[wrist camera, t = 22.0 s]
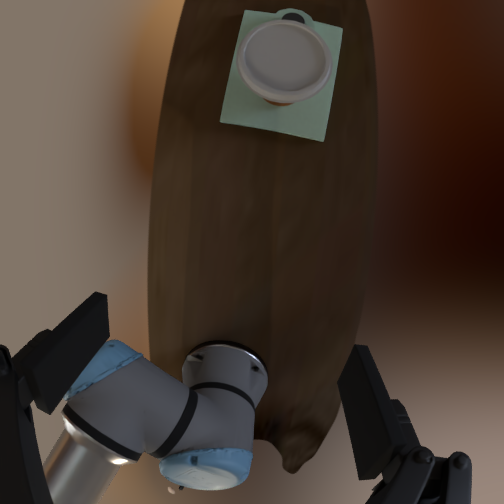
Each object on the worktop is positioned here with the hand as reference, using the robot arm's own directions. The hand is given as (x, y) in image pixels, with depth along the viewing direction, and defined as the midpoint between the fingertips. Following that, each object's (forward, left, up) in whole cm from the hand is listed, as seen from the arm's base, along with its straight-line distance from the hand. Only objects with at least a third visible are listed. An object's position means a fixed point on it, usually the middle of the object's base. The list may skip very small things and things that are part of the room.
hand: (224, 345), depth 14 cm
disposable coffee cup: (+20, 0, -28) cm, 34 cm away
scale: (+22, 0, -29) cm, 36 cm away
